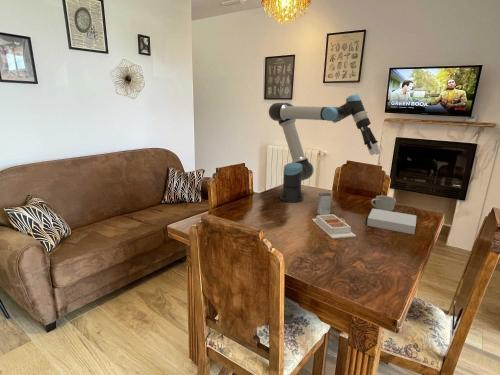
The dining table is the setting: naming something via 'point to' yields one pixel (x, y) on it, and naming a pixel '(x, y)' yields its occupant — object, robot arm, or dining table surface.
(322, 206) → the panel
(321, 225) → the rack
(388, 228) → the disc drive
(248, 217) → the dining table surface
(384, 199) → the teacup
